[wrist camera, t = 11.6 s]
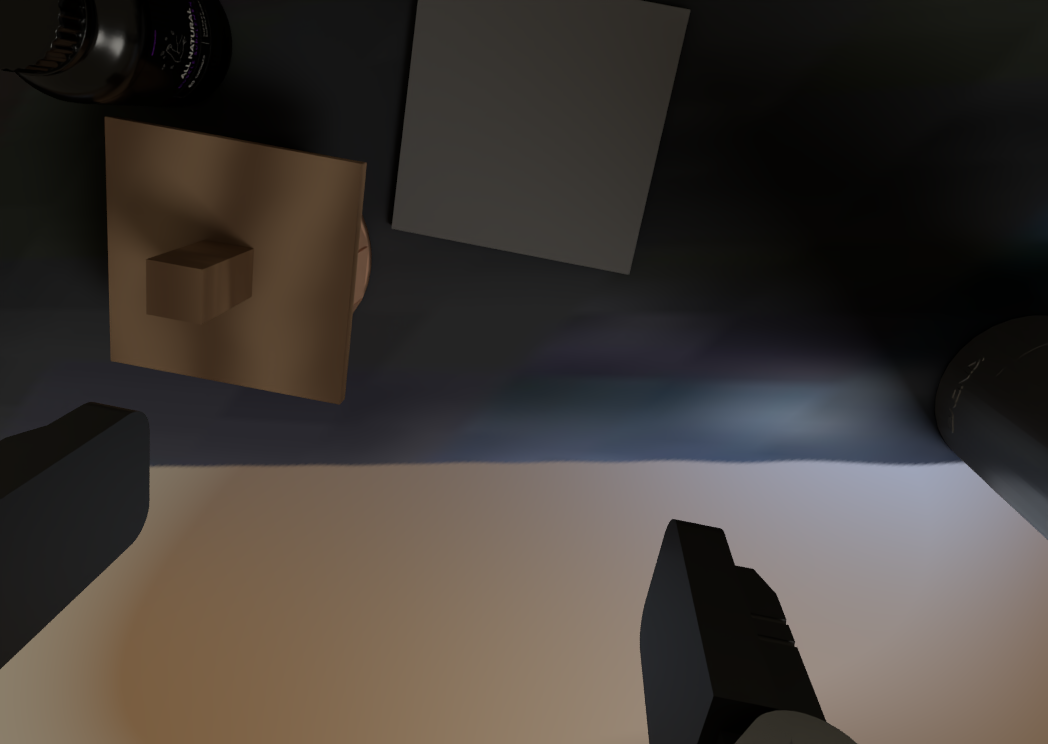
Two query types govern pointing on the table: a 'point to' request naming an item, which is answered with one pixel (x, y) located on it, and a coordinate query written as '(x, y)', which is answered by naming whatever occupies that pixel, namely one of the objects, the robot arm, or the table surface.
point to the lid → (231, 258)
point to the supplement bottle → (117, 49)
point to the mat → (536, 124)
